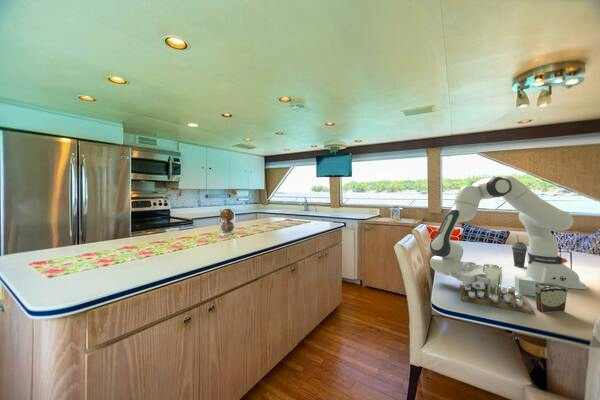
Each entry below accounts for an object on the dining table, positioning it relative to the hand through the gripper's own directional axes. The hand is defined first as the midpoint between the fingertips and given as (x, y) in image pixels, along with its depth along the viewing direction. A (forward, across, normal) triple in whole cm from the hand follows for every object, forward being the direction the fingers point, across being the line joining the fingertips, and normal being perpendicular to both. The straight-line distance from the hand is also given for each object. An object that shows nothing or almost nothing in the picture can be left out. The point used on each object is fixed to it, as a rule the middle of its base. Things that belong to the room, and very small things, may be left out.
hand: (494, 279), depth 109 cm
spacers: (-1, 0, +9) cm, 9 cm away
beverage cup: (-18, +66, +9) cm, 69 cm away
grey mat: (-13, +12, +9) cm, 20 cm away
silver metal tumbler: (-1, 0, +9) cm, 9 cm away
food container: (+14, +9, +9) cm, 19 cm away
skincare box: (+3, +20, +9) cm, 22 cm away
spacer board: (-1, 0, +9) cm, 9 cm away
